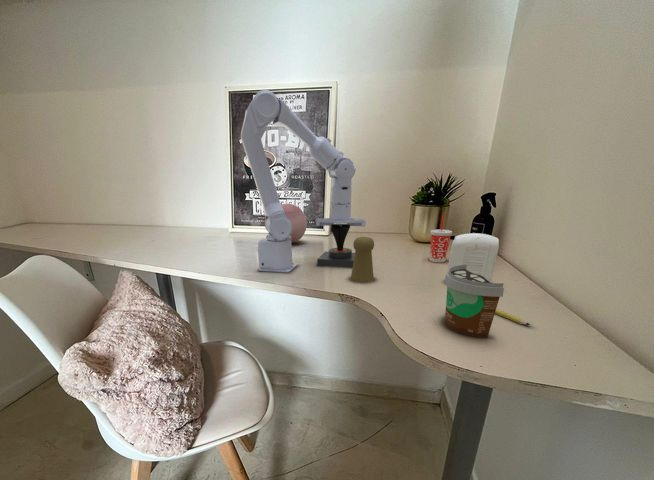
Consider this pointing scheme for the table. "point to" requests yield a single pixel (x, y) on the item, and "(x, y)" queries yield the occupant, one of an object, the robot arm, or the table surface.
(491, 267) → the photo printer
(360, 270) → the cork
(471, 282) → the food container
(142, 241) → the table surface
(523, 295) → the table surface
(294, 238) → the pink ball
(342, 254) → the dark grey button base
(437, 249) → the beverage cup
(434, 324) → the table surface
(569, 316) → the table surface
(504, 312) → the pencil
